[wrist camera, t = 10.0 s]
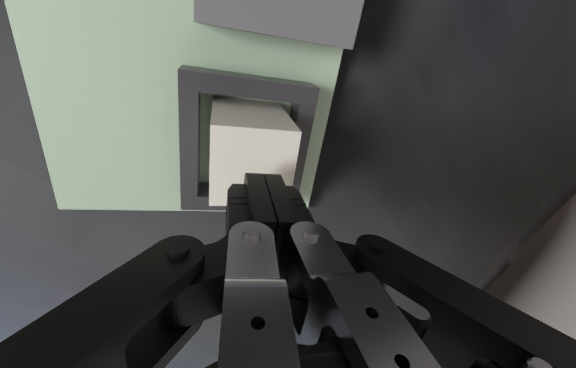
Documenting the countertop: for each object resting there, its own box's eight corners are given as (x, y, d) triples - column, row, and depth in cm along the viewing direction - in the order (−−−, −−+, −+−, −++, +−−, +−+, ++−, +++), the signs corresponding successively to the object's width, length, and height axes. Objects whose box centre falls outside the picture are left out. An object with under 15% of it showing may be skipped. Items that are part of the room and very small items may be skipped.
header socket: (182, 64, 16) (177, 69, 14) (310, 82, 18) (319, 88, 16) (184, 193, 19) (180, 209, 18) (289, 196, 21) (295, 211, 20)
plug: (213, 95, 17) (210, 124, 12) (278, 102, 18) (301, 131, 13) (211, 167, 19) (208, 219, 14) (269, 170, 20) (286, 219, 15)
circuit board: (-51, -280, 10) (-200, -450, 6) (374, -125, 14) (424, -175, 11) (65, 201, 19) (30, 240, 15) (303, 205, 23) (318, 236, 20)
